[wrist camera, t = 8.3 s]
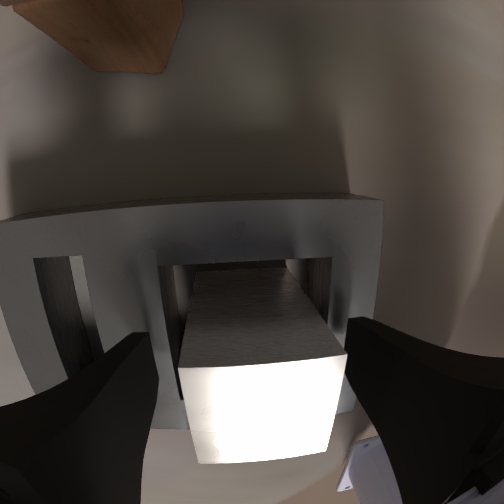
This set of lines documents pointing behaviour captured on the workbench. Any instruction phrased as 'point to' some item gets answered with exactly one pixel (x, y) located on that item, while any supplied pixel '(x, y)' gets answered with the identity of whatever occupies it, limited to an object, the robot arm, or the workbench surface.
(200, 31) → the workbench surface
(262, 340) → the block
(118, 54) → the wooden stand
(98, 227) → the socket plate
